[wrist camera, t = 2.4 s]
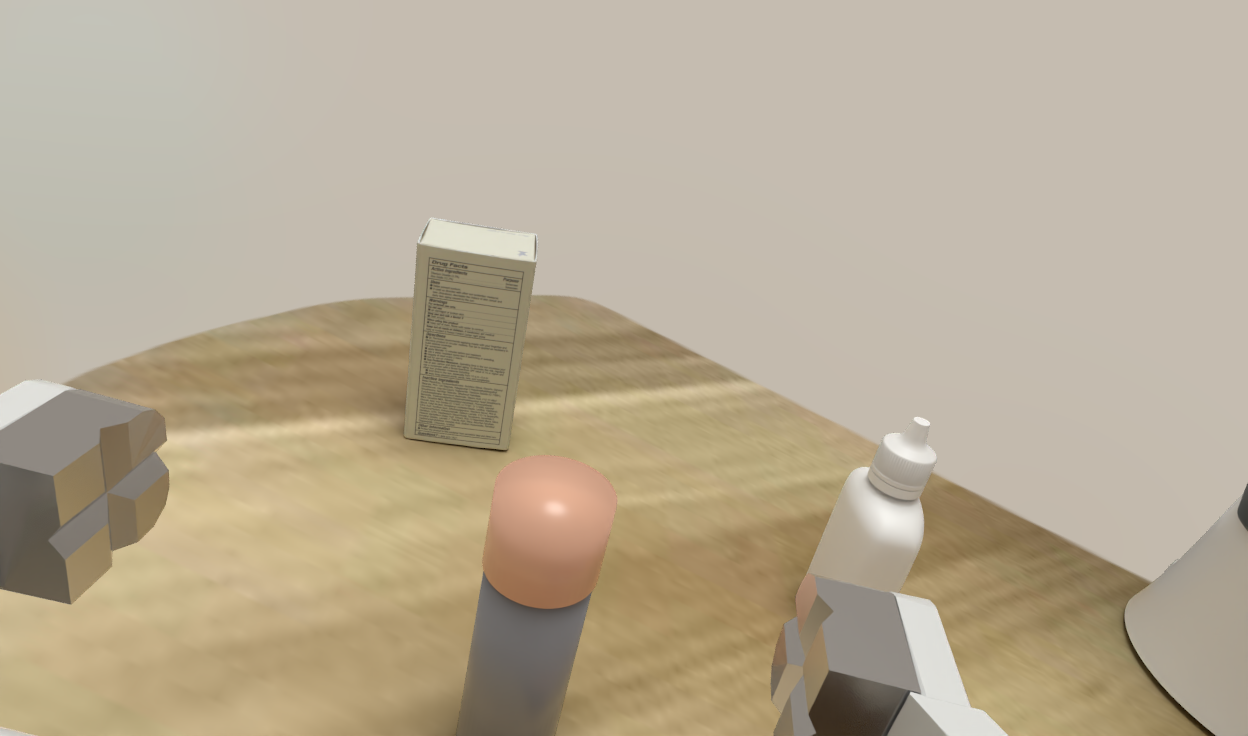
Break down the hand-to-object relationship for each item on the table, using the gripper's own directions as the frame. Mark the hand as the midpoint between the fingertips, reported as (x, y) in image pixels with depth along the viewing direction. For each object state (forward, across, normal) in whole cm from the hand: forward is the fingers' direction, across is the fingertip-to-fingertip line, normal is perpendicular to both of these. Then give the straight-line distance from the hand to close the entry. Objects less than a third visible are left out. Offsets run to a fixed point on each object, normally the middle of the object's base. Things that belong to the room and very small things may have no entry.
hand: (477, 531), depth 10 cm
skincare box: (+32, +8, +20) cm, 39 cm away
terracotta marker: (+12, 0, +20) cm, 24 cm away
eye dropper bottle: (+23, -14, +20) cm, 34 cm away
